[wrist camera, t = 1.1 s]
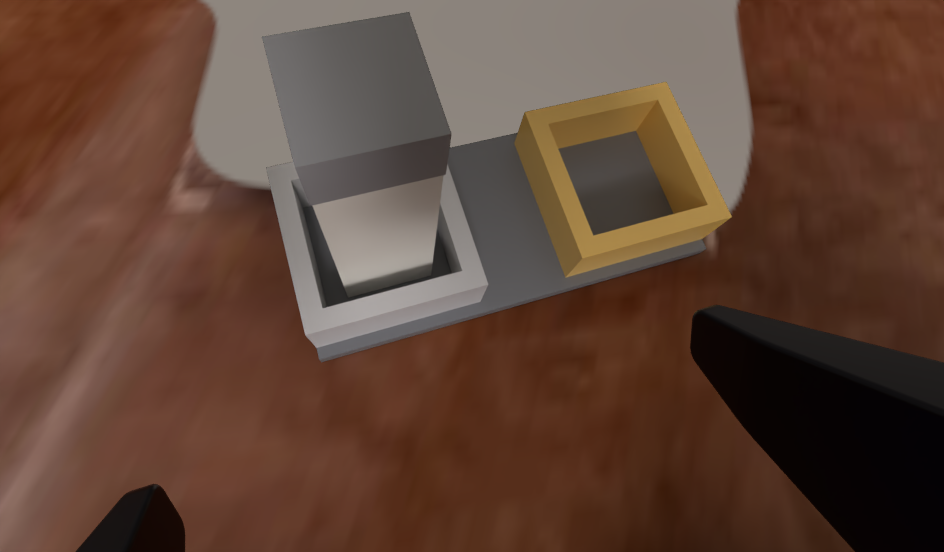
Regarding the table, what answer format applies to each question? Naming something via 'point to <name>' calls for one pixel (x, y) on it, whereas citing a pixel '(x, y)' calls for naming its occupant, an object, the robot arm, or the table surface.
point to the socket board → (522, 220)
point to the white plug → (365, 143)
